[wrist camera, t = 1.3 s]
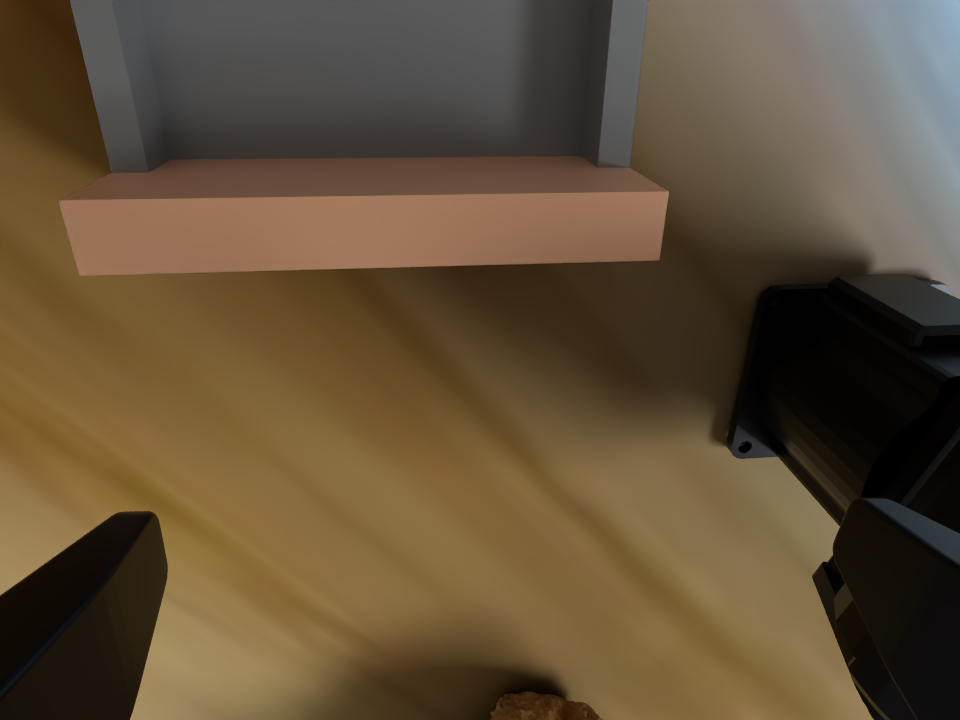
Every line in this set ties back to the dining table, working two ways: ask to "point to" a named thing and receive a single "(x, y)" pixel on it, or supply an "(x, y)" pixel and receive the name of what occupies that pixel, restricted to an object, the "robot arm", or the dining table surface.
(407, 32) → the tray
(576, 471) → the dining table surface
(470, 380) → the dining table surface
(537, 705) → the stuffed squirrel
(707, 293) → the dining table surface
